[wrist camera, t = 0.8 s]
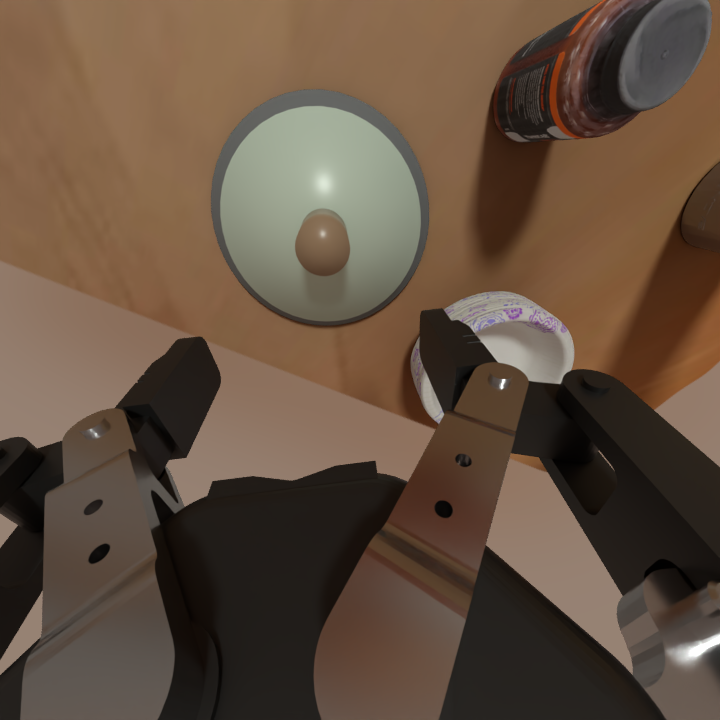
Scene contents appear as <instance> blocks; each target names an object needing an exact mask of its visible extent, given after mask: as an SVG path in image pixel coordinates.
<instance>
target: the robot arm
mask: <svg viewBox="0 0 720 720" xmlns="http://www.w3.org/2000/svg"><path fill="white" fill-rule="evenodd" d="M681 232H682V235H683V238H684V239H685V240H686V242H687V243H688V244H690V245H693V246H695V247H699V248H702V249H706V250H710V251H714V252H718V253H720V163H718V164H717V165H716V166H715V167H714V168H713V169H712V170H711V171H710V172H709V173H708V174H707V175H706V176H705V178H704V179H703V180H702V181H701V183H700V184H699V185H698V187H697V188H696V189H695V191H694V192H693V194H692V196H691V197H690V199H689V201H688V203H687V205H686V208H685V210H684V213H683V217H682V221H681ZM419 352H420V358H421V362H422V364H423V367H424V369H425V371H426V374H427V376H428V378H429V381H430V383H431V385H432V387H433V390H434V392H435V394H436V397H437V399H438V401H439V404H440V406H441V408H442V411H443V413H444V416H443V418H442V419H441V421H440V423H439V425H438V427H437V429H436V431H435V433H434V435H433V437H432V438H431V440H430V442H429V444H428V446H427V447H426V449H425V451H424V453H423V455H422V457H421V459H420V460H419V462H418V464H417V466H416V468H415V470H414V472H413V474H412V476H411V477H410V479H409V481H408V482H407V481H405V480H402V479H400V478H397V477H395V476H390V475H387V474H380V473H377V469H376V462H375V461H369V462H362V463H354V464H346V465H338V466H334V467H331V468H328V469H325V470H323V471H320V472H317V473H314V474H312V475H309V476H306V477H303V478H300V479H298V480H293V481H289V480H280V479H271V478H264V477H255V476H251V477H243V478H235V479H227V480H219V481H213V482H212V484H211V487H210V490H209V493H208V496H206V497H204V498H201V499H199V500H197V501H195V502H193V503H192V504H189V505H188V506H186V507H184V505H183V502H182V499H181V497H180V495H179V492H178V490H177V487H176V485H175V482H174V480H173V477H172V475H171V473H170V471H169V470H168V468H167V467H166V464H167V462H168V461H169V460H172V459H180V458H186V457H187V455H188V453H189V451H190V449H191V447H192V444H193V442H194V440H195V438H196V436H197V434H198V432H199V430H200V427H201V425H202V423H203V421H204V419H205V417H206V415H207V412H208V411H209V408H210V406H211V404H212V402H213V400H214V398H215V396H216V393H217V391H218V389H219V387H220V383H221V376H220V372H219V370H218V367H217V365H216V363H215V361H214V359H213V356H212V354H211V352H210V350H209V347H208V345H207V343H206V341H205V340H204V339H203V338H202V337H191V338H183V339H178V340H177V341H175V343H174V344H173V345H172V346H171V348H170V349H169V350H168V351H167V353H166V354H165V355H163V356H162V357H160V358H159V359H158V360H156V361H155V362H153V363H152V364H151V366H150V367H149V368H148V369H147V370H146V371H145V373H144V375H142V376H141V377H140V378H139V380H138V383H135V384H134V386H133V387H132V388H131V389H130V390H129V392H128V393H127V394H126V395H125V396H124V398H123V399H122V400H121V401H120V402H119V403H118V405H117V406H116V407H115V408H113V409H106V410H102V411H99V412H96V413H94V414H91V415H89V416H87V417H86V418H84V419H82V420H81V421H79V422H78V423H76V424H75V425H74V426H72V428H70V430H68V431H67V433H66V434H65V436H64V437H63V440H62V441H60V442H56V443H54V444H50V445H47V446H44V447H41V448H38V449H37V448H36V447H35V446H34V445H32V444H31V443H30V442H29V441H28V440H27V439H25V438H23V437H14V438H9V439H6V440H2V441H0V514H2V515H3V516H5V517H6V518H8V519H9V520H11V521H13V522H14V523H16V524H17V525H18V526H17V528H16V529H15V530H14V531H13V533H12V534H11V535H10V536H9V538H8V539H7V540H6V542H5V543H4V544H3V545H2V547H1V548H0V659H1V658H2V656H3V654H4V653H5V651H6V649H7V648H8V646H9V644H10V643H11V641H12V640H13V638H14V636H15V635H16V633H17V631H18V630H19V628H20V626H21V625H22V623H23V622H24V620H25V618H26V617H27V615H28V613H29V612H30V610H31V608H32V607H33V605H34V604H35V602H36V600H37V599H38V597H39V595H40V594H41V592H42V590H43V606H42V634H41V638H40V639H38V640H37V641H36V642H35V643H34V644H33V645H32V646H31V647H30V648H29V649H28V650H27V651H26V652H25V653H23V654H22V655H21V656H20V657H19V658H18V659H17V660H16V661H15V662H14V663H13V664H12V665H11V666H10V667H9V668H7V669H6V670H5V671H4V672H3V673H2V674H1V675H0V720H720V467H719V466H718V465H717V464H715V463H714V462H713V461H712V460H711V459H710V458H708V457H707V456H706V455H705V454H704V453H703V452H701V451H700V450H699V449H698V448H697V447H696V446H694V445H693V444H692V443H691V442H690V441H689V440H688V439H686V438H685V437H684V436H683V435H682V434H681V433H680V432H678V431H677V430H676V429H675V428H674V427H672V426H671V425H670V424H669V423H668V422H667V421H665V420H664V419H663V418H662V417H661V416H660V415H659V414H658V413H656V412H655V411H654V410H653V409H652V408H651V407H649V406H648V405H647V404H646V403H645V402H644V401H643V400H641V399H640V398H639V397H638V396H637V395H636V394H634V393H633V392H632V391H631V390H630V389H629V388H627V387H626V386H625V385H624V384H623V383H621V382H620V381H619V380H617V379H615V378H614V377H612V376H610V375H607V374H604V373H601V372H598V371H593V370H586V369H577V370H572V371H569V372H567V373H566V374H565V375H564V376H563V379H562V381H561V384H554V383H543V382H534V381H528V378H527V376H526V375H525V374H524V373H523V372H522V371H521V370H519V369H518V368H516V367H514V366H511V365H508V364H504V363H498V362H497V360H496V359H495V358H494V357H493V355H492V354H491V353H490V352H489V350H488V349H487V348H486V347H485V345H484V344H483V343H482V342H481V340H480V339H479V338H478V337H477V335H475V333H474V332H473V330H472V329H471V328H470V327H469V326H468V325H466V324H465V323H463V322H461V321H459V320H451V319H450V318H449V316H448V315H447V314H446V312H445V311H444V310H443V309H442V308H441V309H432V310H424V311H421V315H420V339H419ZM599 450H600V452H601V453H602V454H603V455H604V457H605V458H606V459H607V460H608V461H609V463H610V464H611V465H612V467H613V468H614V470H613V469H612V468H611V466H610V465H609V464H608V463H607V461H606V460H605V459H604V458H603V457H602V455H601V454H600V453H599V452H598V451H599ZM511 453H514V454H521V455H527V456H534V457H539V458H540V460H541V462H542V463H543V465H544V467H545V468H546V470H547V472H548V473H549V475H550V477H551V478H552V480H553V481H554V483H555V485H556V486H557V488H558V489H559V491H560V493H561V495H562V496H563V498H564V500H565V501H566V503H567V505H568V506H569V508H570V509H571V511H572V513H573V514H574V516H575V518H576V519H577V521H578V523H579V524H580V526H581V527H582V529H583V531H584V533H585V534H586V536H587V537H588V539H589V541H590V542H591V544H592V546H593V547H594V549H595V551H596V552H597V554H598V556H599V557H600V559H601V561H602V562H603V564H604V566H605V567H606V569H607V570H608V572H609V574H610V575H611V577H612V579H613V580H614V582H615V584H616V585H617V587H618V589H619V590H620V592H621V594H622V595H623V597H622V598H621V599H620V601H619V603H618V606H617V619H618V624H619V627H620V630H621V633H622V635H623V637H624V639H625V642H626V644H627V648H628V650H629V652H630V655H631V659H632V665H633V675H632V674H631V673H630V672H629V671H628V670H627V669H626V668H625V667H624V665H622V664H621V663H620V662H619V661H618V660H617V659H616V658H615V657H614V656H613V655H612V654H611V653H610V652H609V651H607V650H606V649H605V648H604V647H603V646H601V644H599V643H598V642H597V641H596V640H595V639H594V638H592V637H591V636H590V635H589V634H588V633H587V632H585V631H584V630H583V629H582V628H581V627H580V626H579V625H577V624H576V623H575V622H574V621H573V620H572V619H570V618H569V617H568V616H567V615H566V614H565V613H564V612H562V611H561V610H560V609H559V608H558V607H557V606H556V605H554V604H553V603H552V602H551V601H550V600H549V599H547V598H546V597H545V596H544V595H543V594H542V593H541V592H539V591H538V590H537V589H536V588H535V587H534V586H532V585H531V584H530V583H529V582H528V581H527V580H525V579H524V578H523V577H522V576H521V575H520V574H519V573H517V572H516V571H515V570H514V569H513V568H512V567H510V566H509V565H508V564H507V563H506V562H505V561H504V560H502V559H501V558H500V557H499V556H498V555H497V554H495V553H494V552H493V551H492V550H491V549H490V548H489V547H487V546H486V542H487V538H488V534H489V530H490V527H491V523H492V520H493V516H494V512H495V509H496V505H497V501H498V497H499V494H500V490H501V487H502V483H503V479H504V476H505V472H506V468H507V464H508V461H509V457H510V454H511Z"/></svg>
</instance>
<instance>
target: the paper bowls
mask: <svg viewBox="0 0 720 720" xmlns="http://www.w3.org/2000/svg"><path fill="white" fill-rule="evenodd" d="M444 311H445V312H446V314H447V315H448V316H449V318H450V319H451V320H459V321H461V322H463V323H465V324H466V325H468V326H469V327H470V328H471V329H472V330H473V332H474V333H475V335H477V337H478V338H479V339H480V340H481V342H482V343H483V344H484V345H485V347H486V348H487V349H488V350H489V352H490V353H491V354H492V355H493V357H494V358H495V359H496V360H497V362H498V363H504V364H508V365H511V366H514V367H516V368H518V369H519V370H521V371H522V372H523V373H524V374H525V375H526V376H527V378H528V381H534V382H543V383H554V384H561V381H562V379H563V376H564V375H565V374H566V373H567V372H569V371H571V369H572V366H573V362H574V345H573V341H572V337H571V335H570V333H569V331H568V329H567V328H566V327H565V325H564V324H563V323H562V322H561V321H559V320H558V319H557V318H556V317H554V316H553V315H552V314H550V313H549V312H547V311H546V310H544V309H543V308H541V307H540V306H539V305H537V304H536V303H534V302H532V301H531V300H529V299H527V298H526V297H524V296H521V295H518V294H515V293H510V292H504V291H503V292H498V291H496V292H485V293H481V294H477V295H475V296H470V297H467V298H465V299H462V300H459V301H458V302H456V303H454V304H452V305H451V306H448V307H447V308H446V309H444ZM419 339H420V336H419V338H418V340H417V341H416V344H415V346H414V349H413V352H412V356H411V373H412V377H413V381H414V384H415V386H416V389H417V392H418V394H419V396H420V399H421V401H422V404H423V407H424V408H425V410H426V411H427V413H428V414H429V415H430V416H431V417H432V419H433V420H435V421H436V422H437V423H438V424H439V423H440V421H441V419H442V418H443V416H444V413H443V411H442V408H441V406H440V404H439V401H438V399H437V397H436V394H435V392H434V390H433V387H432V385H431V383H430V381H429V378H428V376H427V374H426V371H425V369H424V367H423V364H422V362H421V358H420V352H419Z"/></svg>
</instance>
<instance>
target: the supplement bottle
mask: <svg viewBox="0 0 720 720" xmlns="http://www.w3.org/2000/svg"><path fill="white" fill-rule="evenodd" d="M711 17H712V12H711V8H710V4H709V2H708V0H603V1H601V2H599V3H598V4H596V5H594V6H592V7H590V8H589V9H587V10H585V11H583V12H581V13H579V14H578V15H576V16H574V17H572V18H570V19H569V20H567V21H565V22H563V23H562V24H560V25H558V26H556V27H554V28H553V29H551V30H549V31H547V32H546V33H544V34H542V35H540V36H539V37H537V38H535V39H533V40H532V41H530V42H529V43H527V44H526V45H524V46H523V47H522V48H521V49H519V50H518V51H517V52H516V53H515V54H514V55H513V56H512V58H511V59H510V60H509V62H508V63H507V64H506V66H505V68H504V70H503V71H502V73H501V76H500V78H499V80H498V83H497V85H496V89H495V94H494V102H493V112H494V118H495V122H496V125H497V127H498V129H499V130H500V132H501V133H502V134H503V135H504V136H505V137H506V138H508V139H510V140H512V141H515V142H539V141H550V140H570V139H582V138H594V137H600V136H603V135H606V134H609V133H611V132H614V131H616V130H618V129H619V128H621V127H623V126H624V125H626V124H627V123H628V122H630V121H631V120H632V119H633V118H634V117H635V116H637V115H638V114H639V113H640V112H641V111H646V110H649V109H652V108H655V107H657V106H659V105H661V104H662V103H664V102H666V101H667V100H668V99H670V98H671V97H672V96H673V95H674V94H676V93H677V91H679V90H680V89H681V88H682V86H683V85H684V84H685V83H686V82H687V81H688V79H689V78H690V77H691V75H692V74H693V72H694V71H695V69H696V67H697V66H698V64H699V63H700V61H701V58H702V56H703V54H704V52H705V50H706V47H707V44H708V41H709V37H710V33H711V22H712V19H711Z"/></svg>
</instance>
